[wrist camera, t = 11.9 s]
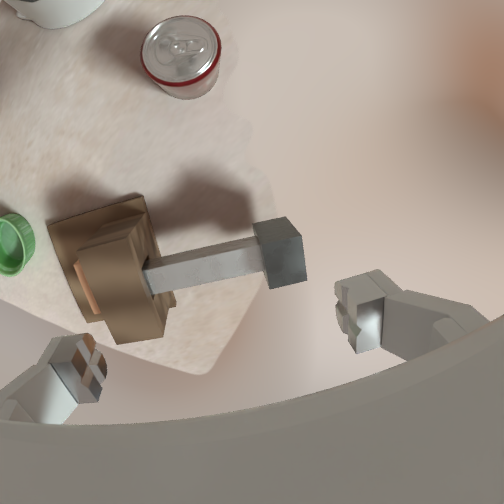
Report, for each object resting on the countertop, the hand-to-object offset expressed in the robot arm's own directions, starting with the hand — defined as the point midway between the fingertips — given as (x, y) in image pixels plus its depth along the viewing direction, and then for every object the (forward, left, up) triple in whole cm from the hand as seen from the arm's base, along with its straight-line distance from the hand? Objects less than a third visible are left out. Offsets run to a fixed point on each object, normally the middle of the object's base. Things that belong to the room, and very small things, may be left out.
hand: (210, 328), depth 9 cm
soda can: (-14, 0, -31) cm, 34 cm away
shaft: (+8, -2, -27) cm, 28 cm away
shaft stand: (+8, -16, -31) cm, 36 cm away
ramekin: (0, -32, -32) cm, 45 cm away
